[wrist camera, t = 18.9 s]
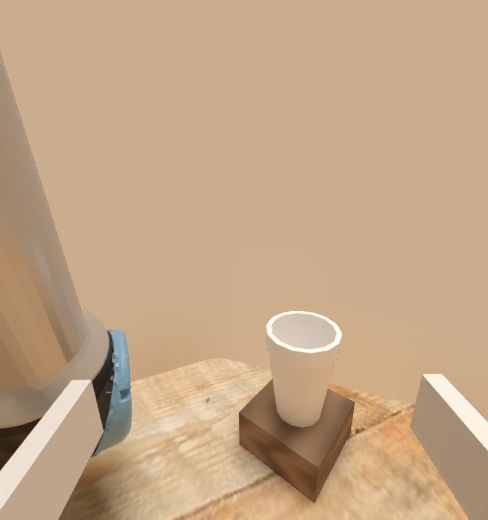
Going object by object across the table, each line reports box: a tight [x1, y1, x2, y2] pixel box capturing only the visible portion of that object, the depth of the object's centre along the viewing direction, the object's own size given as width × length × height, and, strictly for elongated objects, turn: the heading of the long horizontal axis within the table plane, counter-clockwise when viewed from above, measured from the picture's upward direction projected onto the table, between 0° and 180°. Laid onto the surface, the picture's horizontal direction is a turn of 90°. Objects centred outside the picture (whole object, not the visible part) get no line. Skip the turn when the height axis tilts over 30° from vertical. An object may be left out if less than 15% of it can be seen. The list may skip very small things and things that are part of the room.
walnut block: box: [239, 379, 355, 502], centre depth 41 cm, size 12×12×6 cm
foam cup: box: [266, 311, 342, 428], centre depth 38 cm, size 10×9×13 cm
